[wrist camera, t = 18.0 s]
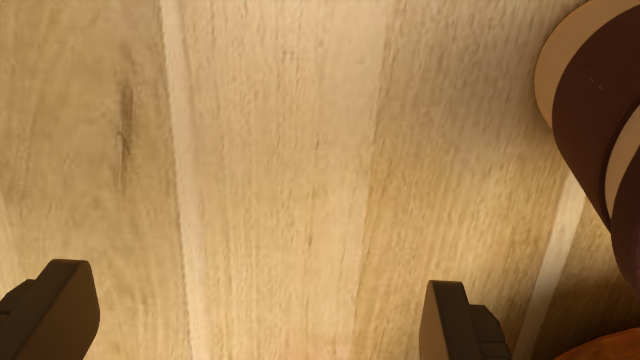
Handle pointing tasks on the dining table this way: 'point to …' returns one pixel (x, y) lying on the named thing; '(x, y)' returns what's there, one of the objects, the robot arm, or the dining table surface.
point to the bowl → (608, 347)
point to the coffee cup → (599, 115)
